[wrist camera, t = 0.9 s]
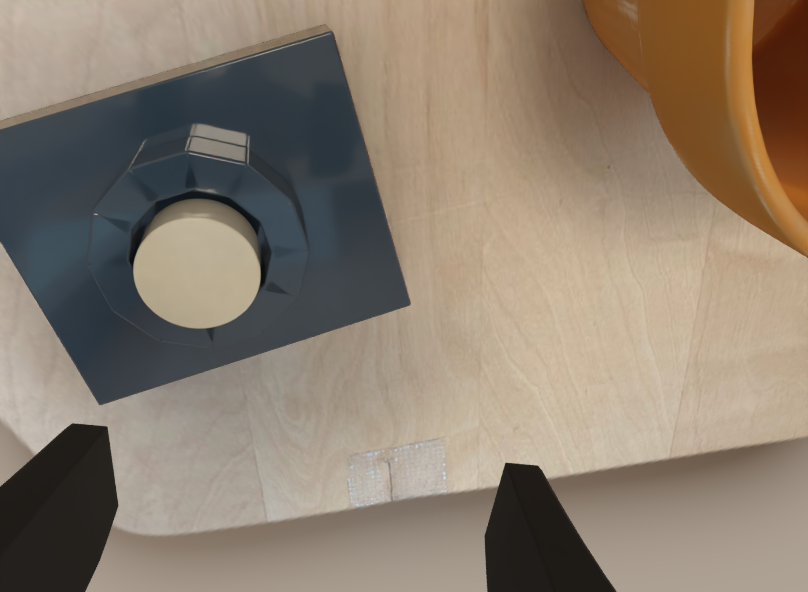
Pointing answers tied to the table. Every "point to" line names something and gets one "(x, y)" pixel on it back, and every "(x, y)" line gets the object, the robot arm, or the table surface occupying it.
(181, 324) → the cream cylinder puck
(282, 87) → the push button base
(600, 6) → the flower pot
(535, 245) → the table surface
